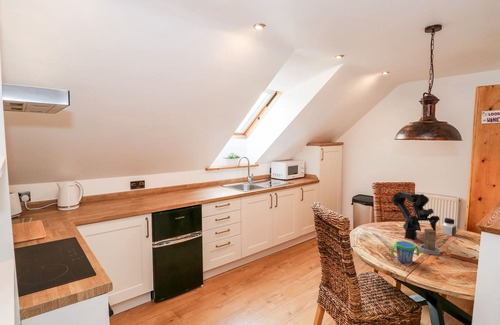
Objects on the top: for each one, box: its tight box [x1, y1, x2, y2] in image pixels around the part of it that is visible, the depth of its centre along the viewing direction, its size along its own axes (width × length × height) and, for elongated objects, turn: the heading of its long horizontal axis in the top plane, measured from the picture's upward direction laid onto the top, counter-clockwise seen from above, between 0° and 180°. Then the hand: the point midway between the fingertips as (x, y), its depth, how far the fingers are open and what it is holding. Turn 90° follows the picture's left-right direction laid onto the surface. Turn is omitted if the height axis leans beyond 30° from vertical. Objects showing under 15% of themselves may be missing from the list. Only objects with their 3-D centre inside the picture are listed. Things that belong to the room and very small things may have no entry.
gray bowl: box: [417, 243, 441, 256], centre depth 179 cm, size 12×12×2 cm
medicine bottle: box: [440, 217, 457, 237], centre depth 208 cm, size 7×7×12 cm
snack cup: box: [390, 240, 420, 264], centre depth 165 cm, size 16×10×10 cm
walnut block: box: [423, 228, 437, 251], centre depth 178 cm, size 5×5×13 cm
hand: (427, 231), depth 180 cm, fingers open, 9 cm apart
